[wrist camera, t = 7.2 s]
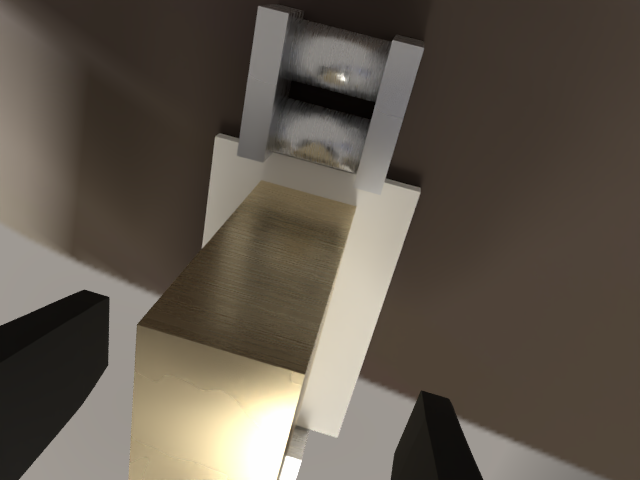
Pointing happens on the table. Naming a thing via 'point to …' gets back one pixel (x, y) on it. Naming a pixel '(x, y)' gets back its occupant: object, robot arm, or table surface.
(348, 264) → the pad
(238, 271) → the wood grain block
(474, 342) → the table surface
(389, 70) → the chain ends
